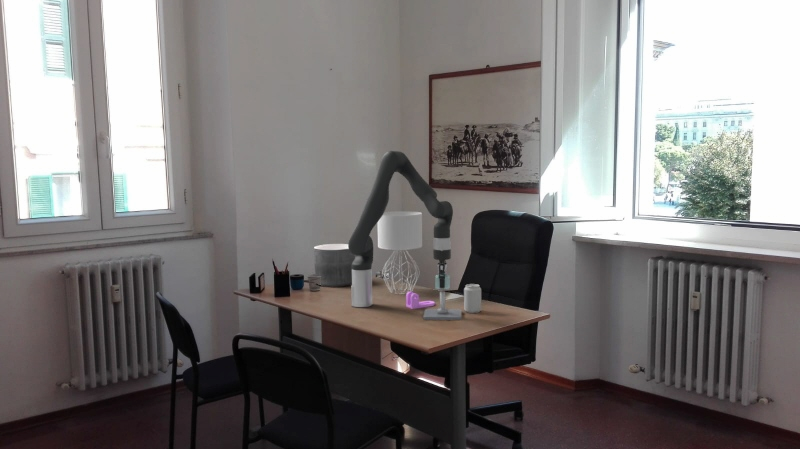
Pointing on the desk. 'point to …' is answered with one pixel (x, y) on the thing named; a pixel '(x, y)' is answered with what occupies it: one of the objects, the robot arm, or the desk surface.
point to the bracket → (416, 301)
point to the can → (472, 298)
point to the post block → (442, 311)
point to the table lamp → (400, 238)
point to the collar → (447, 282)
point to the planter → (333, 264)
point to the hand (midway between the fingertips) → (442, 286)
